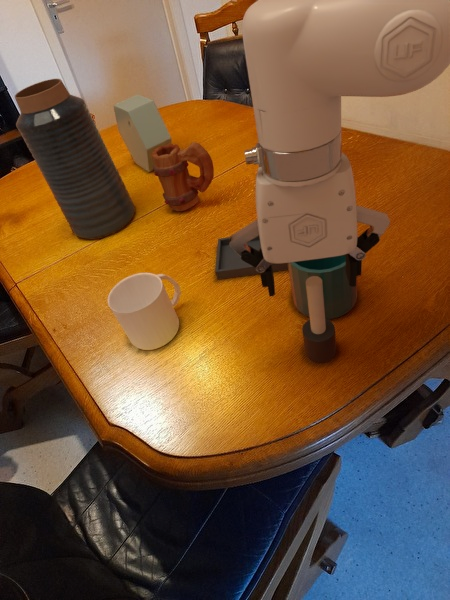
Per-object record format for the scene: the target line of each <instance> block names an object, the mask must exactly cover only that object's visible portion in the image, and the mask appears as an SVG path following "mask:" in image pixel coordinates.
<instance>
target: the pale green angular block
mask: <svg viewBox="0 0 450 600" xmlns="http://www.w3.org/2000/svg"><path fill="white" fill-rule="evenodd" d="M112 107H113V111H114V117H115V121H116V126H117V132H119V135H120V137H121V139H122V141H123V142H124V145H125V147H126V148H127V150H128V152H129V154H130V156H131V158H132V160H133V162H134V163H135V165H137V166H138V167H140V168H142V170H145V171H146V172H148V173H151V172H153V171H154V168H153V165H154V161H153V158H152V152H153V151H154V150H155V149H156V148H158V147H160V146H163V147H164V146H166V145H169V144H173V143H172V136H171V134H170V132H169V130H168V127H167V125H166V124H165V122H164V119H163V117H162V115H161V113H160V111H159V109H158V107H157V105H156V102H155V100H154V99H152V98H150V97H146V96H144V95H141V94H135V95H133V96H130V97H128V98H126V99H124V100H122V101H119V102H117V103H115V104H113V106H112Z"/></svg>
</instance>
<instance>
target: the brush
mask: <svg viewBox="0 0 450 600" xmlns="http://www.w3.org/2000/svg"><path fill="white" fill-rule="evenodd" d="M306 290H307V299H308V307H309V316H310V317H309V319H308V320H306V321H305V323H304V324H303V325H302V328H301V332H302V339H303V346H304V353H305V356H306V357H307V359H308V360H309V361H311V362H313V363H316V364H325V363H329V362H331V361H332V360H333V359H334V358H335V356H336V354H337V343H336V341H337V340H336V328H335V324H334V323H333V322H332V321H331V319H326V318H325V311H324V298H323V285H322V279H321V278H320V277H317V276H312V277H309V278H308V279H307V280H306Z"/></svg>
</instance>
